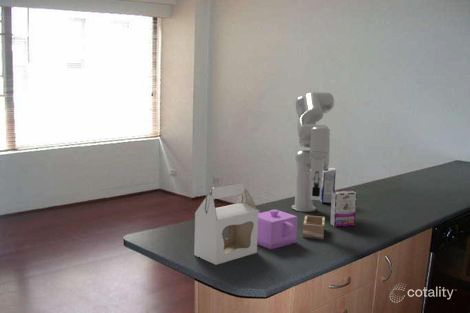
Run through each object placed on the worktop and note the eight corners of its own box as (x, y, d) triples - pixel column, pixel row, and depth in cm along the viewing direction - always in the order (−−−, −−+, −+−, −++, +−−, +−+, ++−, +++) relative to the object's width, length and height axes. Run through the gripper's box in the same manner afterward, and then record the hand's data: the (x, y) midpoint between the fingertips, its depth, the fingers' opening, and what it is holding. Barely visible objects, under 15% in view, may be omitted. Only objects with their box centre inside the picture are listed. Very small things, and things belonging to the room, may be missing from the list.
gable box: (235, 244, 216) (237, 178, 212) (257, 252, 207) (260, 184, 202) (193, 255, 201) (194, 185, 197) (215, 265, 192) (217, 192, 187)
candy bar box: (350, 223, 252) (352, 190, 249) (355, 226, 247) (357, 192, 244) (329, 224, 249) (331, 191, 246) (334, 227, 244) (336, 193, 241)
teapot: (264, 230, 235) (265, 201, 233) (304, 246, 217) (306, 213, 214) (238, 236, 226) (239, 205, 223) (279, 253, 207) (280, 219, 205)
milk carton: (333, 204, 287) (336, 169, 283) (321, 203, 287) (323, 168, 283) (331, 201, 294) (333, 166, 290) (319, 200, 294) (322, 166, 290)
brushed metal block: (310, 197, 234) (312, 177, 232) (320, 197, 233) (322, 178, 231) (310, 199, 229) (311, 179, 228) (320, 200, 228) (321, 180, 227)
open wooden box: (304, 227, 242) (305, 215, 241) (324, 229, 240) (324, 216, 239) (302, 237, 227) (303, 224, 226) (323, 239, 226) (324, 226, 225)
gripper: (310, 151, 237) (308, 190, 240) (308, 157, 220) (306, 198, 223) (327, 152, 235) (324, 191, 238) (326, 158, 219) (324, 199, 222)
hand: (316, 194), depth 231 cm, fingers closed on brushed metal block, 4 cm apart
